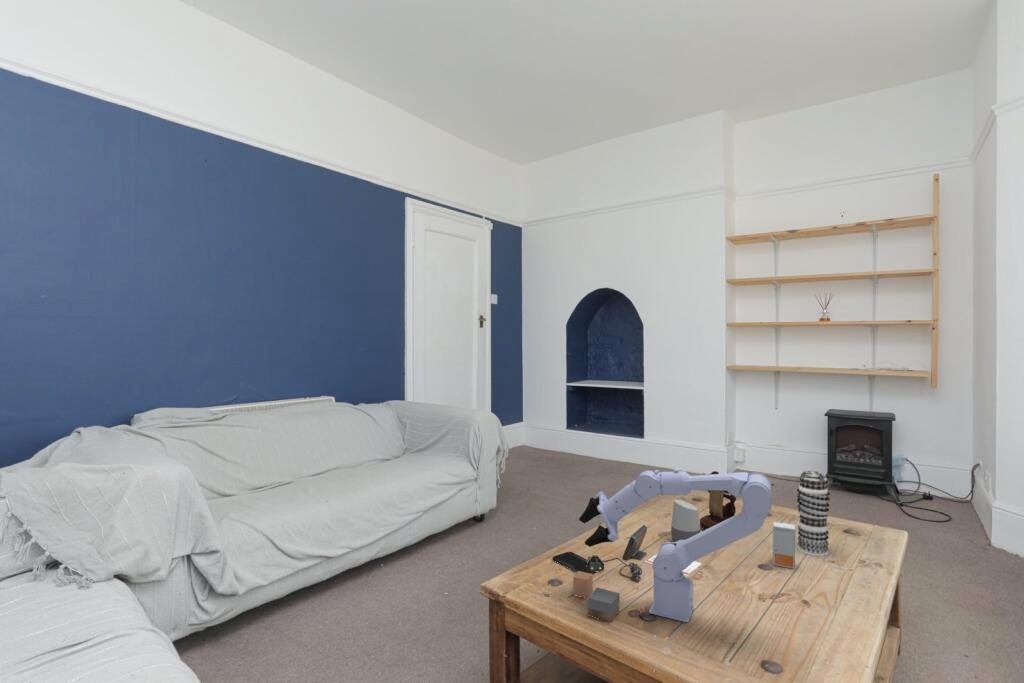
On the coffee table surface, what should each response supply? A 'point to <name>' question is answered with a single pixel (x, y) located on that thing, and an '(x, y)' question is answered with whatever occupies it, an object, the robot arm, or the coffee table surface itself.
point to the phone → (573, 562)
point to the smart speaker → (684, 521)
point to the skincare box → (784, 545)
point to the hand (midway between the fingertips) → (584, 532)
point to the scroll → (718, 508)
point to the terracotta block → (583, 584)
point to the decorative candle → (813, 513)
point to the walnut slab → (603, 614)
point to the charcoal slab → (604, 600)
